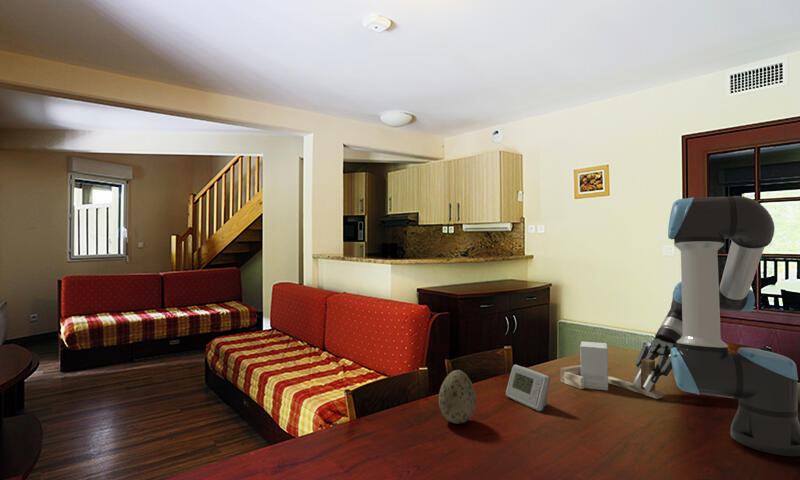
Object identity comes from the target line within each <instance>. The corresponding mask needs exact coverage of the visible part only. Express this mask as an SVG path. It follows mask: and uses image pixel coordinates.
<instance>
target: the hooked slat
mask: <svg viewBox="0 0 800 480" xmlns="http://www.w3.org/2000/svg"><path fill="white" fill-rule="evenodd" d="M655 368H656V361H655V360H650V359H642V360H641V385H640V387H639V388H636V387H635V386H634V384H633V382H629V381H626V380H623V379H619V378H617V377H614V376H610V375H608V384H610V385H613V386H617V387H619V388H623V389H625V390H629V391H631V392H635V393H638V394H641V395H644V396H647V397H650V398H653V399H656V400H658V399H663V393H664V392H662V391H659V390H656V383H654V384H653V385H652V387H651V389H650V391H649V392H647V391H646V390H645V388H644V387H643V385H644V384H645V382H646V380H647V378H648V376H649V375H650V373H651V371H654V369H655ZM654 372H655V371H654ZM560 382H561V383H563V384H566V385H568V386H572V387H574V388H577V389H580V390H584V389H585V388H584V377H582V376H581V363H580V364H576V365H575V364H574V365H569V366H564V367H560Z"/></svg>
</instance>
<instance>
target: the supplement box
mask: <svg viewBox="0 0 800 480" xmlns="http://www.w3.org/2000/svg"><path fill="white" fill-rule="evenodd" d="M579 347H580V349H579V353H580V355H579V357H580V359H579V360H580V364H581V376H582V377H584V389H592V390H600V391H609V383H608V376H609V357H608V356H609V353H608V352H609V351H608V350H609V349H608V344H607V343H606V342H595V341H594V342H593V341H581V342H580V346H579Z"/></svg>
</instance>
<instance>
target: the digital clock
mask: <svg viewBox="0 0 800 480" xmlns="http://www.w3.org/2000/svg"><path fill="white" fill-rule="evenodd" d="M550 383H551V377H550V376H548V375H546V374H543V373H542V372H540V371H537V370H533V369H531V368H528V367H525V366H521V365H518V364H513V366H512V367H511V371H510V374H509V378H508V383H507V386H506V390H505V396H506V397H508V398H509V399H511V400H512V401H514V402H516V403H519V405H520V404H521V405H523V406H524V407H527V408H528V409H529V408H530V409H531V410H535V411H538V412H542V411H544V407H546V406H547V405H548V397H547V396H548V393H549V387H550Z"/></svg>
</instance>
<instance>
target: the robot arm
mask: <svg viewBox="0 0 800 480" xmlns="http://www.w3.org/2000/svg"><path fill="white" fill-rule="evenodd" d="M668 221H669V222H668V229H667V233H668V234H667V238H668V239H669V240H673V241H674V243H673V244H674V246H675V248H676V249H678V250H679V252H680V271H681V272H680V275H681V281H679V282H678V283H677V284H676V285H675V286H674V289H673V292H672V300H671V305H670V309H669V311H668V313H667V315H666V316H665V318H664V319H663V321H662V323H661V324H660V326H659V328H658V330H657V332H656V333H655V336H654V339H653V340H652V341H651V342H648V343H647V342H646V341H643V342H642V345H641V349H640V352H639V354H638V356H637V358H636V361H635V363H634V365H635V366H636V368H637V371H636V373H635V378H634V380H633V382H632V383H633V384H634V386H635V387H636V388H639V387H640V386H641V360H642V359H650V360H654V361H655V360H656V359H658V360H657V363H656V364H655V369H654V371H655V372H654V371H651V373H650V375H649V376H648V378H647V380H646V382H645V384H644V385H643V387H644V388H645V390H646V391H647V392H649V391H650V389H651V387H652V385H653V384H654V383H655V384H657V382H658V380H659V379H660V377H661V376H664V377H668V375H669V374H670V373H671V371H672V372H673V376H674V380H675V383H676V386H677V388H678V389H679V390H680V391H682V392H685V393H691V394H697V396H698V395H704V396H705V395H706V396H712V397H713V396H715V397H723V398H729V399H736V400H738V407H737V410H736V413H735V415H734V417H733V419H732V422H731V424H730V436H731V438H732V439H733V440H734V441H736V442H737V443H739V444H740V445H742V446H746V447H747V448H750V449H753V450H756V451H759V452H763V453H767V454H771V455H777V456H784V457H800V421H799V416H798V415H799V414H798V411H799V410H798V407H799V406H798V381H799V376H798V370H797V369H798V368H797V363H795V361H794V360H793V359H791V358H790V357H788V356H785V355H782V354H779V353H775V352H772V351H767V350H764V349H759V348H754V347H739V348H738V349H737V351H736V353H734V352H729V347H728V346H729V345H728V344H727V343H725V341H723V340H722V337H721V334H722V333H721V316H720V315H721V313H720V312H721V311H725V312H737V313H742V312H744V313H745V312H752V311H753V310H754V309H755V303H756V299H755V298H756V297H755V293H754V291H753V290H752V289H751V287H752V283H753V281H754V278H755V275H756V272H757V269H758V267H759V263H760V261H761V258H762V255H763V252H764V249H765V248H766V247H768V246H769V245H770V244H771V243H772V241H773V238H774V235H775V222H774V220H773V217H772V215H771V214H770V213H769V210H767V209H766V207H764V206H763V205H762V204H761V203H759V202H758V201H756V200H755V199H752V198H750V197H746V196H741V195H733V196H707V197H705V196H703V197H701V196H698V197H694V196H693V197H688V198H687V197H686V198H680V199H679V198H678V199H677V200H675V201H674V202H673V204H672V206H671V210H670V215H669V220H668ZM727 239H729V240H730V241H731V243H730V246H729V250H728V254H727V258H726V262H725V266H724V269H723V273H722V276H721V277H722V278H721V281H719V279H720V278H719V260H718V259H719V257H718V256H719V255H718V251H720V249H721V248H722V247H724V246H725V240H727ZM719 282H720V283H719Z"/></svg>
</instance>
